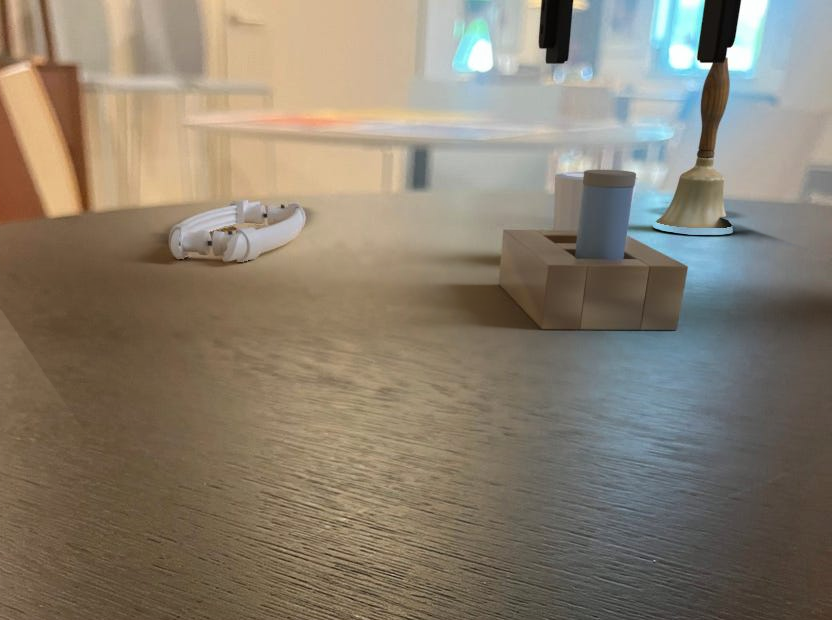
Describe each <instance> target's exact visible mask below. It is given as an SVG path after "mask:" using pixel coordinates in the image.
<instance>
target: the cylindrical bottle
mask: <svg viewBox="0 0 832 620" xmlns="http://www.w3.org/2000/svg"><path fill="white" fill-rule="evenodd" d="M583 172H584V177H583V192H582V200H581V208H580V217H579V225H578V233H577V242H576V250H575V257H576V258H577V259H623V258H624V251H625V244H626V237H627V236H628V229H629V223H630V217H631V209H632V205H631V202H632V203H633V201H632V195H633V188H634V185H635V179H636V178H637V173H636V172H635V171H630V170H622V169H621V170H620V169H587V170H584V171H583Z"/></svg>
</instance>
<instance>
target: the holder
mask: <svg viewBox="0 0 832 620" xmlns="http://www.w3.org/2000/svg"><path fill="white" fill-rule="evenodd" d="M577 233H578V231H576V230H554V229H537V230H536V229H503V231H502V241H501V253H500V262H499V263H500V264H499V274H498V285H499V286H500V287H501V288H502V290H503V291H505V293H506V294H507V295H508V296H509V297H510V298H511V299H512V300H513V301H514V302H515V303H516V304H517V305H518V306H519V307H520V308H521V309H522V310H523V311H524V313H526V315H528V316H529V318H530V319H531V320H532V321H533V322H534V323H535V324H536V325H537V326H538V327H539V328H540V329H541V330H559V331H560V330H561V331H563V330H565V331H566V330H569V331H570V330H574V331H575V330H576V331H577V330H581V331H584V330H587V331H598V330H599V331H677V330H678V327H679V321H680V316H681V309H682V304H683V299H684V292H685V286H686V280H687V275H688V269H689V266H688V265H686V264H685V263H682V262H680V261H678V260H676V259H674V258H672V257H670V256H668V255H667V254H665V253H662V252H661V251H659V250H656V249H655V248H653V247H651V246H649V245H647V244H645V243H643V242H641V241H639V240H638V239H635V238H634V237H631V236H630V235H627V237H626V244H625V251H624V258H623V259H577V258H576V257H575V250H576V242H577Z"/></svg>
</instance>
